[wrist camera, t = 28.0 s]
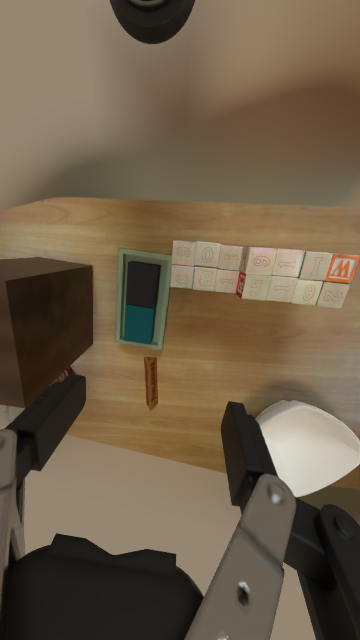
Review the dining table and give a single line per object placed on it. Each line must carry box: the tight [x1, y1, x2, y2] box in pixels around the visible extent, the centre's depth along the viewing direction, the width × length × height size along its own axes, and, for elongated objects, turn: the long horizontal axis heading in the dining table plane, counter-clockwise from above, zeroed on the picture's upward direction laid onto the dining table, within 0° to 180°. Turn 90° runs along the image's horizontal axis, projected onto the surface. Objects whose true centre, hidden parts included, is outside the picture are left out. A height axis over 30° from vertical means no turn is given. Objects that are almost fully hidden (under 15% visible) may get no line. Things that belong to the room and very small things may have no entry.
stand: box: [0, 257, 93, 408], centre depth 31 cm, size 16×10×18 cm, turn 172°
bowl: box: [255, 400, 360, 497], centre depth 42 cm, size 21×21×9 cm
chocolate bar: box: [144, 357, 158, 410], centre depth 43 cm, size 3×12×2 cm, turn 179°
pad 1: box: [126, 261, 161, 308], centre depth 35 cm, size 7×5×3 cm
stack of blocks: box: [170, 240, 360, 309], centre depth 29 cm, size 21×6×12 cm, turn 85°
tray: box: [115, 248, 172, 350], centre depth 37 cm, size 18×9×2 cm, turn 172°
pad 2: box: [124, 304, 157, 345], centre depth 37 cm, size 7×5×3 cm
